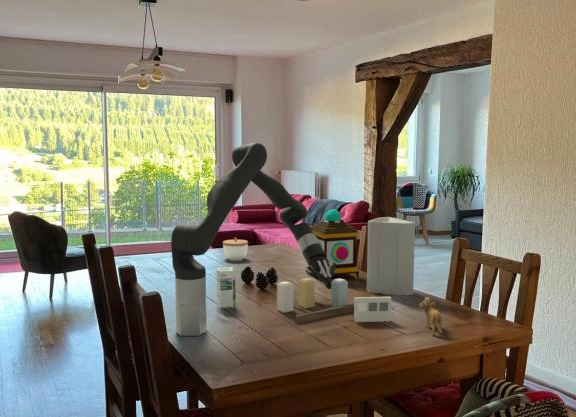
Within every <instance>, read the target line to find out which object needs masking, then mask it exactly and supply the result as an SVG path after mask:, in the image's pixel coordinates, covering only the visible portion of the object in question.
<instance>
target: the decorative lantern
mask: <svg viewBox="0 0 576 417" xmlns="http://www.w3.org/2000/svg"><path fill="white" fill-rule="evenodd" d="M324 216H325V217H324V218H323V219H322V220H321V221H319V222H318V223H317V224H312V226H310V227H311V229H312V231H313V233H314V235H315V236H316V238H317V239H318V241H319V243H320V245H321V246H322V248H323V250H324V252H325V256H326V258H327V259H328V260H329V262H330V263H332V264H333V263H336V267H335V272H334V275H333V276H340V275H349V274H354V278H355V280H358V279H359V277H360V271H359V268H358V267H357V266H358V265H357V238H358V235H359V233H360V231H358V230H357V229H356V228H355V227H354V226H351V225H350V224H348V223H347V222H345V220H343V219H342V215H341V213H340V211H338V210H337V209H336V208H335V209H334V208H332V209H329V210H328V211H327V212H326V213H325V215H324ZM308 267H309V266H308V265H307V266H306V269H307V268H308ZM328 268H329V266H328ZM329 270H330V269H329Z"/></svg>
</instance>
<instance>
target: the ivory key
mask: <svg viewBox="0 0 576 417" xmlns="http://www.w3.org/2000/svg"><path fill="white" fill-rule="evenodd" d="M276 288H277V289H276V310H277V311H279V312H281V313H289V312H294V308H293V305H294V300H295V299H294V297H295V296H294V293H295V292H294V284H293V283H292V282H290V281H279V282H278V283H276Z"/></svg>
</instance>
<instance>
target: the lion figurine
mask: <svg viewBox="0 0 576 417" xmlns="http://www.w3.org/2000/svg"><path fill="white" fill-rule="evenodd" d="M418 305H419V307H420V309H421V310H423V311H424V312H425V315H426V325H425V328H430V327H431V328H432V333H431V336H436V330H437V332H438V334H439V336H440V337H444V335H443V333H444V331H443V330H442V327H443V326H442V325H443V320H442V319H443V318H442V314H441V312H440V311H439V307H438V305H437V303H436V302H435V300H434V299H433V298H431V297H429V296H427V297H424V300H423V301H422V302H419V304H418Z"/></svg>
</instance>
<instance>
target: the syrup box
mask: <svg viewBox="0 0 576 417" xmlns="http://www.w3.org/2000/svg"><path fill="white" fill-rule="evenodd" d="M236 298H237V296H236V270H235V268H234V267H233V266H231V267H220V268H219V267H217V268H216V300H217V302H216V304H217V306H218V308H219V309H220V310H222V309H235V308H237V307H236V306H237V305H236Z"/></svg>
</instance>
